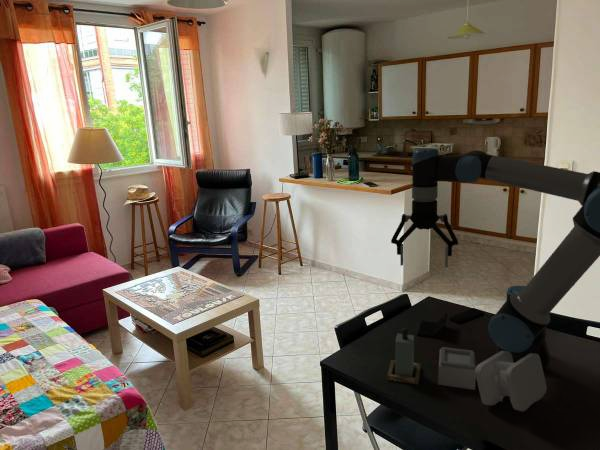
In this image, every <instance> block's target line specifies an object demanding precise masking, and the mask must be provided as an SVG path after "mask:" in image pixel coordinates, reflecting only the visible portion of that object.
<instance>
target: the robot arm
mask: <svg viewBox="0 0 600 450" xmlns="http://www.w3.org/2000/svg"><path fill="white" fill-rule="evenodd" d="M411 159H412V161H411V167H412V168H411V170H412V173H411V177H412V179H411V181H412V182H411V185H412V186H411V199H412V201H411V214H409V215H408V214H406V213H403V214H402V215H401V219H400V222H399V224H398V226H397V228H396V230H395V232H394V234H393V236H392V238H391V240H390V243H391V244H394V245H396V255H397V256H400V266H404V243H403V242H405V241H406V239H407V238H408V237H409V236H410V235H411V234H412V233H413V232H414V231H416V229H418V230H429V231H430V229H432V230H433V231H434V232H435V233H436V234H437V235H438V236H439V237H440V238H441V239H442V241H444V243H445V244H444V267H445V268H448V267H449V266H448V265H449V262H448V261H449V257H452V254H453V247H454V246H457V245H459V241H458V240H459V239H458V237H456V234H455V232H454V231H453V228H452V226H451V225H450V223H449V219H448V218H449V217H448V214H446V213H444V214H442V215H439V214H438V200H437V199H438V189H439V187H438V182H449V183H450V182H451V183H452V182H453V183H463V184H468V183H471V184H472V183H473V184H474V183H476V182H477V181H479V179H482V180H487V181H491V182H495V183H499V184H500V183H501V184H503V185H508V186H512V187H517V188H521V189H526V190H528V191H529V190H531V191H535V192H539V193H543V194H546V195H552V196H555V197H560V198H563V199H564V198H565V199H567V200H574V201H577V202H578V203H579V204H580V206H581V207H580V208H579V209H578V211H577V212H576V213H575V214H574V215H573V217H572V222H573V227H572V229H571V230H570V231H569V233H568V234H567V235H566V236H565V237H564V238H563V240H562V241H561V242H560V243H559V245H558V246H557V247H556V249H554V251H553V252H552V254H551V255H550V256H548V258H547V260H546V261H545V262H544V264H542V265H541V267H540V268H539V269H538V271H537V272H536V273H535V274H534V276H533V277H532V278H531V279H530V281H529V282H527V284H526V285H512V286H510V287H508V288H507V291H506V293H505V294H506V300H505V302H504V303H503V304H502V306H501V307H500V308H499V310H498V311H497V312H496V313H495V314H494V315H493V316H492V317H491V318H490V320H489V323H488V327H487V328H488V334H489V336H490V339H491V340H492V342H493V343H495V345H496V354H497V353H498V352H500V351H509V352H510V353H511V354H512V358H513V363H516V362H517V361H519V360H520V359H522V358H523V357H525V356H527V355H528V354H530V353H534V354H538V355H539V356H540V359H541V364H542V368H543V369H544V368H547V367H548V366H549V365H550V361H551V353H550V349H549V346H548V342H547V339H546V338H547V326H548V325H549V323H550V322H551V317H550V313H551V312H552V310H553V309H555V307H556V306H557V305H558V304H559V303H560V302H561V301H562V299H563V298H564V297H565V296H566V295H567V294H568V292H569V291H570V290H571V289H572V288H573V287H574V286H575V284H577V282H578V281H579V280H580V279H581V278H582V277H583V276H584V274H585V273H586V272H588V270H589V269H590V267H592V266H593V264H594V263H595V262H596V261H597V260H598V259H599V257H600V172H599V171H595V170H593V171H591V172H589V173H585V172H579V171H575V170H569V169H566V168H565V169H564V168H559V167H555V166H550V165H543V164H539V163H533V162H529V161H524V160H521V159H520V160H519V159H513V158H508V157H504V156H499V155H493V154H488V153H486V152H485V151H482V150H472V151H469V152H467V153H462V154H459V155H440V153H439V149H437V148H431V147H428V148H424V147H423V148H417V149H414V150H413V152H412V158H411ZM409 220H410V221H411V222H412V224H411V225H410V226H409V227H408V229H406V231H405V232H404V233H403V234H402V235H401V236H400V233H401V231H402V230H403V228H404V226H405V223H407V222H408V221H409ZM439 220H440V221H441V222H442V223H443V224H444V226H445V228H446V230H447V232H448V234H449V236H450V238H451V239H450V238H449V237H448V236H447V235H446V234H445V233H444V232H443V231H442V229H440V227H439V226H438V224H437V222H438V221H439ZM399 236H400V238H399V239H398V237H399Z"/></svg>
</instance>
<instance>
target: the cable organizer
mask: <svg viewBox="0 0 600 450" xmlns="http://www.w3.org/2000/svg"><path fill="white" fill-rule="evenodd" d="M475 374H476V379H475V380H476V382H477V383H476V384H477V387H478V391H479V396H480V399H481V400H480V401H481V403H482V404H483V405H487V406H495V405H496V404H497V403H499V402H502V403H503V399H504V398H505V397H509V400H510V404H511V405H512V408H513V410H516V411H518V412H525V411H526V410H528V409H529V408H530V407H531V405H533V404H534V403H536V402H538V401H539V400H541V399H543V397H544V396H545V394H546V393H547V388H548V387H547V383H546V382H547V381H546V378H545V373H544V368H542V364H541V359H540V356H539V355H538V354H534V353H530V354H528V355H527V356H525V357H523V358H522V359H520V360H519V361H517V362H516V363H513V358H512V354H511V353H510V352H509V351H500V352H498V353H497V352H496V353H495V354H493V355H491V356H490V357H488V358H487V359H485V360H483V361H482V362H480V363H478V364H477V365H476V369H475Z"/></svg>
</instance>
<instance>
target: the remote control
mask: <svg viewBox="0 0 600 450" xmlns="http://www.w3.org/2000/svg"><path fill="white" fill-rule="evenodd" d="M484 314H485V313H484V311H483V310H480V309H478V308H475V307H471V308H470V309H467V310H465V311H464V310H463V311H462V312H459V313H457V314H454V315H451V316H450V317H449V321H450V322H452V323H454V324H458V325H461V324H463V323H466V322H469V321H471V320H473V319H475V318H477V317H480V316H484Z"/></svg>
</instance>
